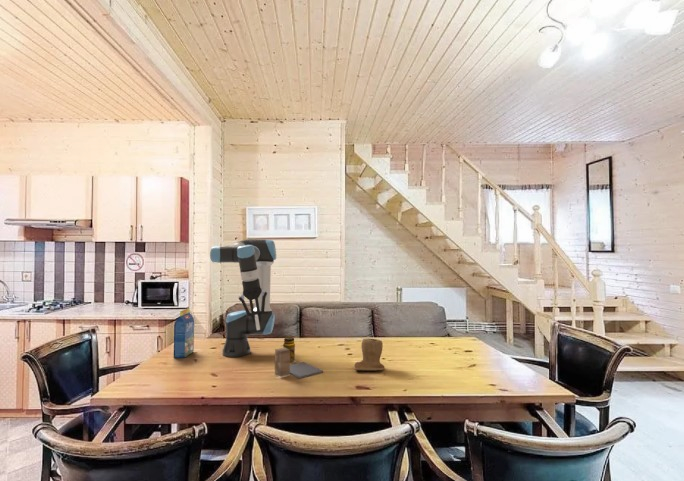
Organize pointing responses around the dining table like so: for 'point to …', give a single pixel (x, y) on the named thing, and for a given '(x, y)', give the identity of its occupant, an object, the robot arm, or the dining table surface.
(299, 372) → the mat
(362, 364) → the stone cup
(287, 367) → the walnut block
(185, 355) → the blue food package
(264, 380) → the dining table surface
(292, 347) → the condiment
